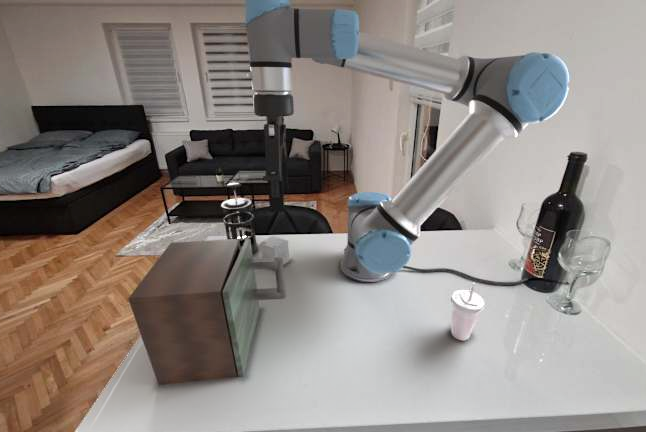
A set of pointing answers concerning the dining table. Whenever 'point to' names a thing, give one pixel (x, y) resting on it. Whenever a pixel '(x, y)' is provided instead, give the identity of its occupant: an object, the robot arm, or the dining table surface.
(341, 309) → the dining table surface
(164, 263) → the cupboard
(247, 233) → the french press
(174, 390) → the dining table surface
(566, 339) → the dining table surface
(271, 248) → the product carton
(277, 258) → the door
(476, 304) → the smoothie
